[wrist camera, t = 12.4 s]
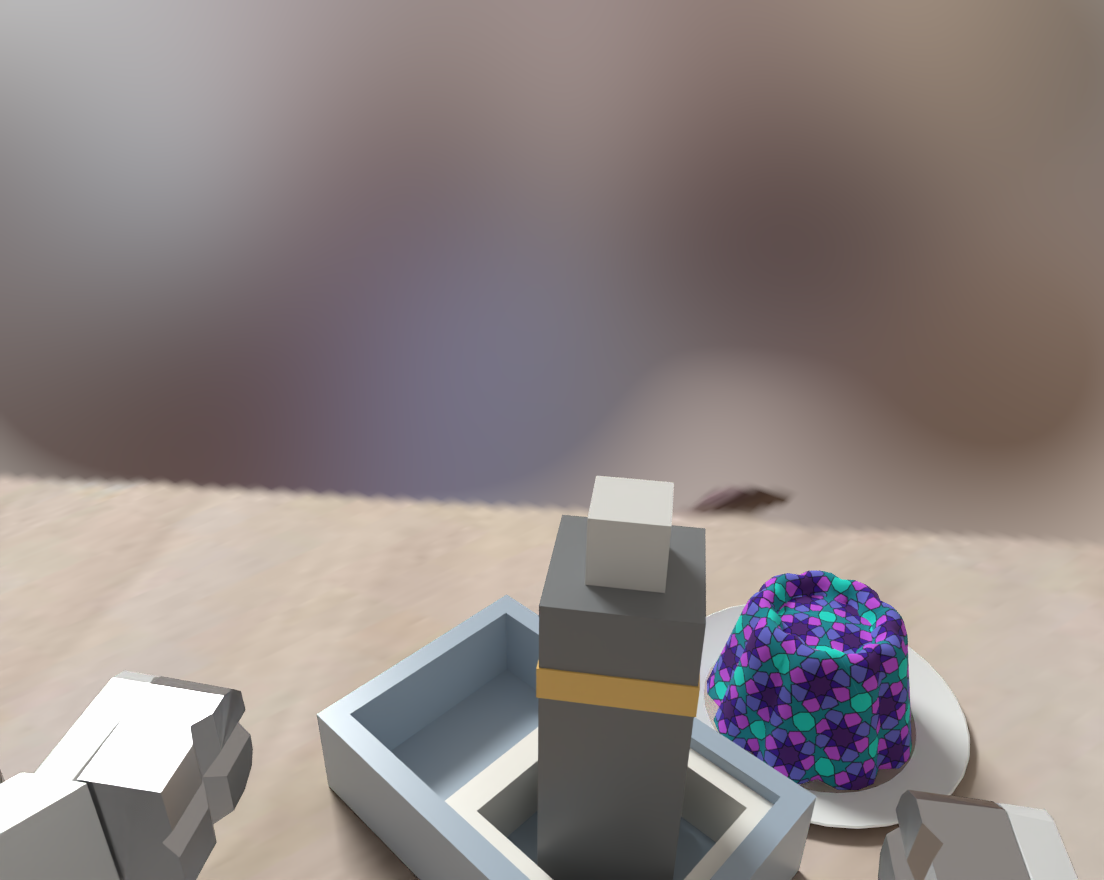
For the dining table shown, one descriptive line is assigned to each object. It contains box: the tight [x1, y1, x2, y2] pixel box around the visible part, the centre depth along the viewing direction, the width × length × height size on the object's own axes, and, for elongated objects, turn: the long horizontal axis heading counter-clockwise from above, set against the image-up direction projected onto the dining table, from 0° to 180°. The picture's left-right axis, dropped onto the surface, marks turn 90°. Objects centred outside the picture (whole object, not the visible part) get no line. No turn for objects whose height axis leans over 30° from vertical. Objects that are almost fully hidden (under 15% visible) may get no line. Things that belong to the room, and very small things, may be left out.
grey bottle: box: [536, 476, 706, 880], centre depth 25 cm, size 4×4×14 cm
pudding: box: [695, 571, 970, 829], centre depth 34 cm, size 12×12×5 cm
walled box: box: [317, 595, 817, 880], centre depth 29 cm, size 14×9×4 cm, turn 46°
